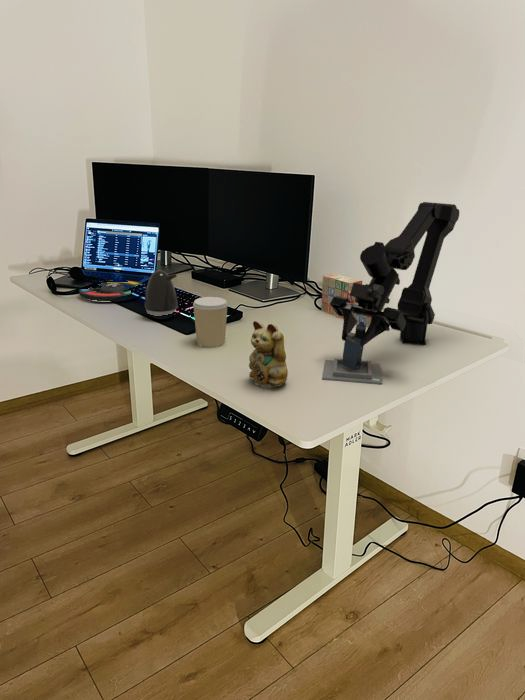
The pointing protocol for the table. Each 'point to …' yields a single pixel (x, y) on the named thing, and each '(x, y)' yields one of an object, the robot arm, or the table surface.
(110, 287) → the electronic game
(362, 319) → the stack of blocks
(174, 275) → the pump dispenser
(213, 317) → the coffee cup
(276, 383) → the decorative figurine
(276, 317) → the table surface
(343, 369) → the dock
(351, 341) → the vaping device
